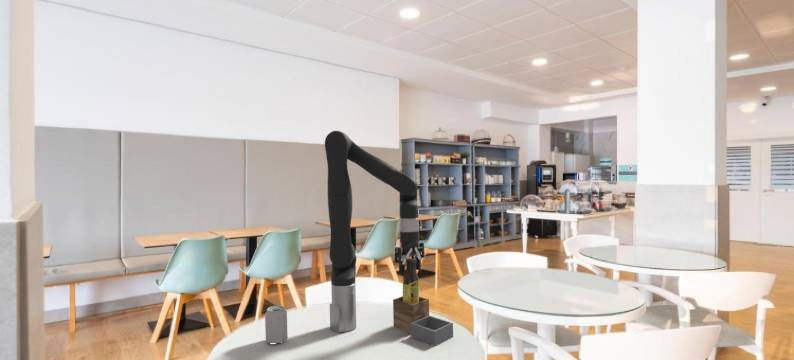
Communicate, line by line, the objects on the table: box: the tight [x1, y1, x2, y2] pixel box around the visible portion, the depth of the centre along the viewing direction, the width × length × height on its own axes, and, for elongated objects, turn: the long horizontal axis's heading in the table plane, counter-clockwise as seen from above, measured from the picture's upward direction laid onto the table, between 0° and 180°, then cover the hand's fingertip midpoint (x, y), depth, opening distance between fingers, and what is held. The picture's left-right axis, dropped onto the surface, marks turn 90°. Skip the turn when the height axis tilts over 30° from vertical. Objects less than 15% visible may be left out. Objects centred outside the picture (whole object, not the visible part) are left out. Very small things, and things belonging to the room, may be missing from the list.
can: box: [264, 305, 288, 344], centre depth 141 cm, size 8×8×12 cm
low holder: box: [410, 315, 454, 347], centre depth 141 cm, size 10×11×5 cm
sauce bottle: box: [402, 257, 420, 305], centre depth 151 cm, size 6×6×20 cm
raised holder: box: [392, 295, 430, 334], centre depth 151 cm, size 9×10×10 cm
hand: (410, 271), depth 151 cm, fingers open, 8 cm apart
